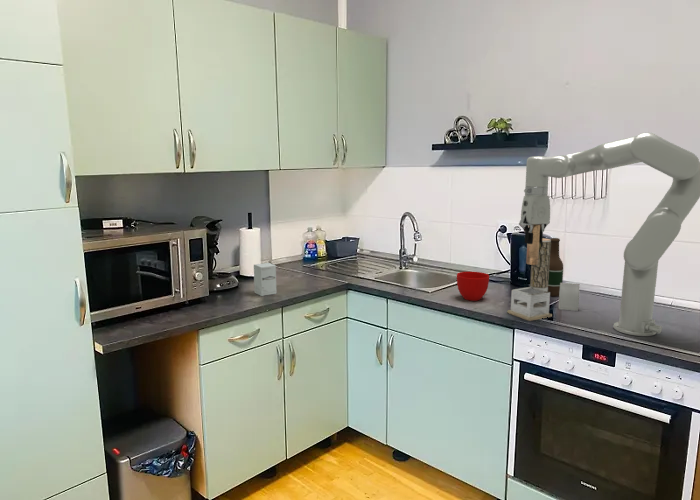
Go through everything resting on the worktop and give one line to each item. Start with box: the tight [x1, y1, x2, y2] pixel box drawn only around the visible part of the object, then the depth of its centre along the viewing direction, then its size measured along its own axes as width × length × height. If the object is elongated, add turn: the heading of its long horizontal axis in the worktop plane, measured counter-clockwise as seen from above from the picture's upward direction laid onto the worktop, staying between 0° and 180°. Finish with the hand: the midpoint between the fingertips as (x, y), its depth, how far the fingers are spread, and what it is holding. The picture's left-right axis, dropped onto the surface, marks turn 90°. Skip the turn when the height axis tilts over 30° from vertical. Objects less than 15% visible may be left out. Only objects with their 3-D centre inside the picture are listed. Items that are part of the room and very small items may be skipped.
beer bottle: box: [548, 237, 564, 298], centre depth 217 cm, size 8×8×24 cm
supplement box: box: [253, 262, 278, 297], centre depth 222 cm, size 7×7×13 cm
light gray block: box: [558, 282, 581, 312], centre depth 198 cm, size 4×7×10 cm, turn 71°
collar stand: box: [506, 286, 553, 322], centre depth 190 cm, size 11×11×9 cm
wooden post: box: [525, 223, 540, 265], centre depth 186 cm, size 4×4×18 cm
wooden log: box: [529, 237, 551, 292], centre depth 208 cm, size 7×7×25 cm
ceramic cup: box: [456, 271, 490, 302], centre depth 214 cm, size 13×17×10 cm
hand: (533, 242), depth 186 cm, fingers closed on wooden post, 4 cm apart
